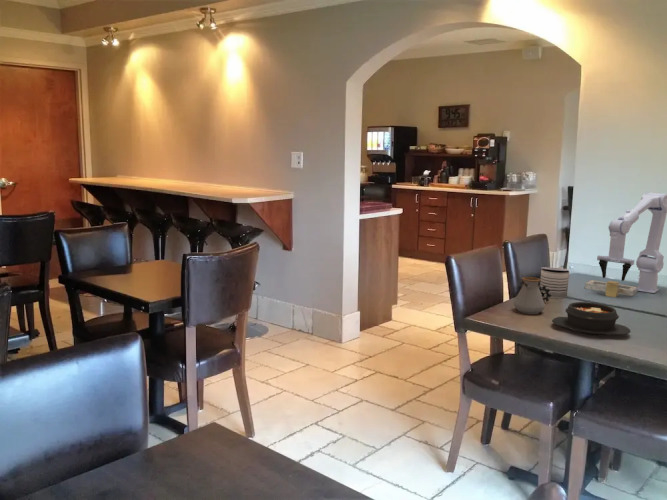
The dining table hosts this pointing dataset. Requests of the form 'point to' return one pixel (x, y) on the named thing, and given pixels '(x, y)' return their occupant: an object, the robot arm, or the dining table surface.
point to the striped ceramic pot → (555, 281)
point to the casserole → (591, 319)
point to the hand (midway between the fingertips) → (613, 279)
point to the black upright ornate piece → (545, 293)
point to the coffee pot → (529, 297)
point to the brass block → (612, 289)
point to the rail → (602, 285)
